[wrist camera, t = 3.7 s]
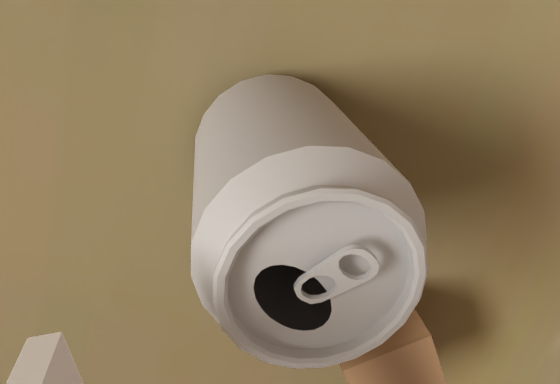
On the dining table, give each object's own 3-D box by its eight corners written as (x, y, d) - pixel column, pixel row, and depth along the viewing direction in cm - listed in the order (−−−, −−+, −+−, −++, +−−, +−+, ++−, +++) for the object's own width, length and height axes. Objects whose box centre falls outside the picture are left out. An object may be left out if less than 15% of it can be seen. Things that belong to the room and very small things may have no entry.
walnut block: (344, 360, 31) (368, 426, 27) (321, 308, 29) (342, 371, 24) (414, 332, 31) (449, 394, 27) (395, 278, 29) (431, 335, 24)
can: (162, 141, 23) (126, 297, 12) (279, 35, 21) (355, 106, 11) (262, 235, 26) (303, 424, 15) (369, 148, 24) (497, 289, 14)
